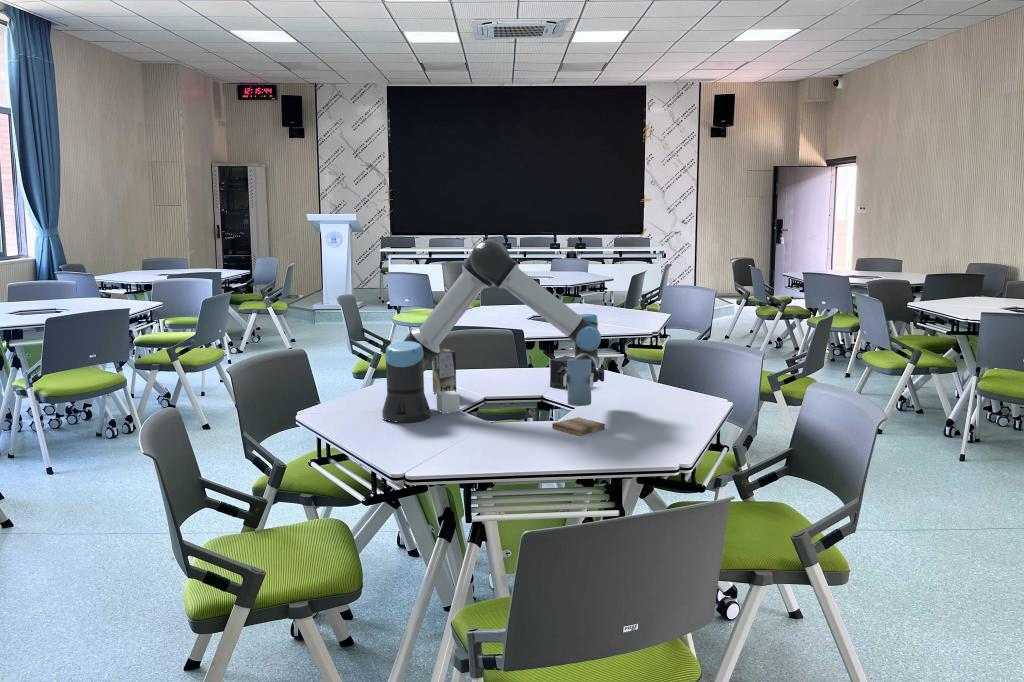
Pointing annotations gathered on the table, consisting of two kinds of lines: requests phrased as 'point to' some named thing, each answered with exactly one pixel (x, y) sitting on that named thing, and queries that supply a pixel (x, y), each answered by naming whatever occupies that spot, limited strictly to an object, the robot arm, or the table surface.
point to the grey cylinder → (579, 381)
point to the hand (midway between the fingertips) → (577, 381)
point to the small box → (554, 367)
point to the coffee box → (444, 371)
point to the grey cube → (448, 401)
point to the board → (578, 426)
